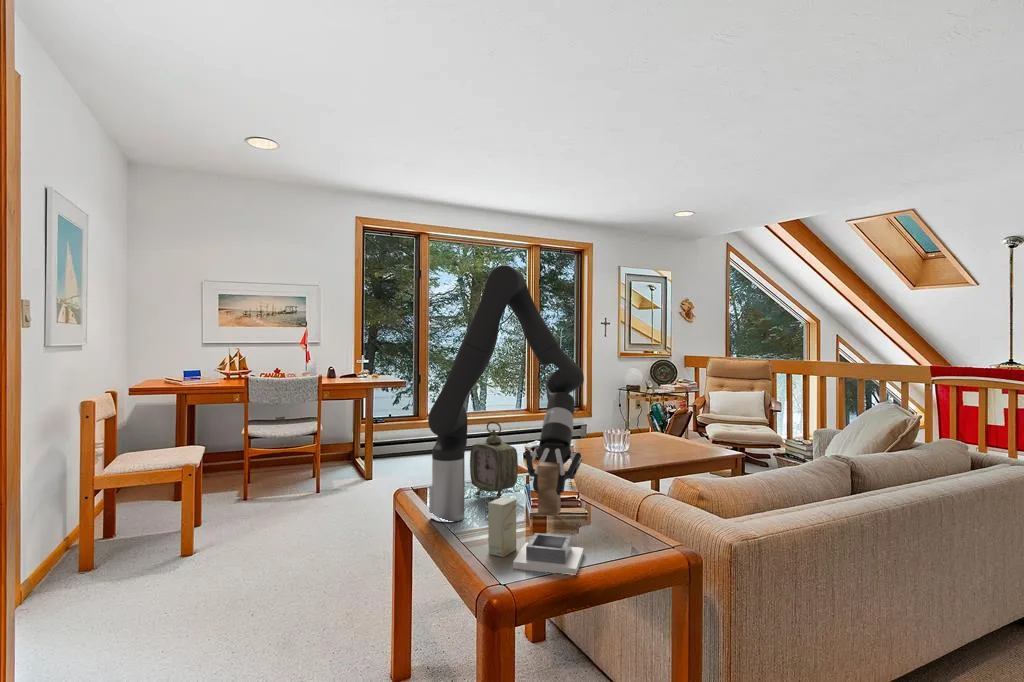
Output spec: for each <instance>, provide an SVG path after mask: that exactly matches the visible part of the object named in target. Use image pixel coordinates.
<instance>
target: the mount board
mask: <svg viewBox="0 0 1024 682" xmlns="http://www.w3.org/2000/svg"><path fill="white" fill-rule="evenodd" d="M572 538H573V537H572V536H569V535H561V534H559V535H557V534H550V533H540V532H539V533H538V532H534V533H533V535H532V537H531V539H530V540H529V542H528V541H526V542H525V543H524V545H523V546H522V547H521V549H520V550H519V552H518V554H517V555H516V557H515V558H514V559H513V561H512V569H514V570H522V571H531V572H539V573H540V572H541V573H547V572H550V573H549V574H556V573H569V574H571V573H572V574H576V573H577V574H578V572H577V571H579V569H580V566H581V563H582V561H583V557H584V555H585V553H584V552H585V551H584V547H577V546H572V545H573V544H572V543H573V540H572ZM551 572H552V573H551Z"/></svg>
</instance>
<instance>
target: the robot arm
mask: <svg viewBox="0 0 1024 682" xmlns="http://www.w3.org/2000/svg"><path fill="white" fill-rule="evenodd" d="M524 277H525V276H524V275H523V273H522V272H521V271H520V270H519V269H517V268H515V267H513V266H511V265H509V264H500V265H497V266H495V267H494V268H493V269H492V270H491V271H490V273H488V276H487V278H486V281H485V284H484V288H483V292H482V294H481V297H480V301H479V304H478V307H477V309H476V311H475V313H474V315H473V317H472V320H471V322H470V324H469V325H468V328H467V330H466V333H465V334H464V335H465V336H464V337H463V338H462V342H461V344H460V346H459V348H458V351H457V353H456V356H455V359H454V361H453V363H452V366H451V368H450V370H449V372H448V375H447V378H446V381H445V383H444V385H443V387H442V389H441V391H440V393H439V394H438V397H437V398H436V400H435V401H434V404H433V405H432V407H431V408H430V411H429V414H428V418H427V422H428V424H427V425H428V428H429V429H430V431H431V432H432V433H433V434H434V435H436V436H437V438H436V442H435V444H434V446H433V447H432V451H431V453H432V455H431V458H432V459H431V462H432V463H431V464H432V465H431V470H432V471H431V473H432V477H431V478H432V479H431V480H432V481H431V484H430V485H429V490H428V491H429V495H428V496H429V497H428V498H429V499H428V500H429V510H428V511H429V512H430V513H433V514H434V515H435V516H437V517H439V518H442V519H445V520H448V521H457V522H459V521H462V520H464V519H465V512H466V511H465V510H466V509H465V502H466V501H465V495H466V494H465V493H466V492H465V487H466V486H465V453H466V451H465V450H466V448H467V444H468V413H467V410H466V408H465V406H464V404H465V401H466V399H467V397H468V395H469V393H470V392H471V390H472V389H473V388H474V387H475V385H476V383H477V382H478V381H479V379H480V378H481V377H482V376H483V374H484V373H485V370H487V367H488V366H489V363H490V361H491V359H492V357H493V354H494V351H495V349H496V347H497V342H498V336H499V329H500V324H501V320H502V317H503V315H504V313H505V310H506V308H507V306H509V308H510V309H511V310H512V311H513V313H514V314H515V317H516V318H517V320H518V322H519V324H520V326H521V329H522V332H523V334H524V337H525V340H526V342H527V344H528V346H529V348H530V349H531V351H532V352H533V354H534V356H535V358H536V359H537V361H538V362H539V364H540V365H541V366H545V367H546V366H549V365H551V364H552V365H554V366H555V367H556V368H557V369H556V370H555V371H554V372H552V373H551V374H550V375H549V376H548V377H547V379H546V381H545V390H546V391H545V392H546V397H547V398H546V399H547V405H546V411H545V414H544V419H543V422H542V423H543V424H542V427H541V433H540V438H539V439H540V440H539V445H538V447H537V448H536V450H532V451H530V450H529V449H526V450H525V451H524V454H525V461H526V468H527V472H528V476H529V477H533V481H532V489H533V491H534V492H535V494H538V465H539V464H540V463H541V462H557V463H560V469H559V473H560V475H559V476H558V483H557V488H556V492H557V494H558V495H562V493H564V492H565V488H566V487H565V485H566V481H567V480H569V479H570V480H573V479H574V478H575V476H576V474H577V473H578V470H579V468H580V466H581V463H582V461H583V458H582V453H581V452H576V453H574V452H572V450H571V446H572V440H573V439H572V438H573V433H574V416H575V415H574V414H575V405H576V404H575V403H576V402H575V398H574V397H573V396H572V395H571V393H572V392H574V391H576V390H577V389H579V388H580V387H582V385H584V380H585V377H584V372H583V370H582V369H581V367H580V366H579V365H578V364H577V363H576V362H575V361H574V360H573V359H572V358H571V357H570V356H569V355H568V354H567V353H566V352H565V351H564V350H563V349H562V347H561V346H560V345H559V343H558V341H557V339H556V337H555V336H554V334H553V333H552V331H551V330H550V328H549V327H548V325H547V323H546V321H545V320H544V318H543V316H542V315H541V314H540V311H539V310H538V308H537V306H536V304H535V302H534V300H533V298H532V295H531V293H530V291H529V288H528V285H527V283H526V280H525V278H524ZM536 457H537V458H538V462H537V465H536V468H534V464H533V462H534V461H536ZM570 459H571V462H570V465H569V467H568V469H567V470H566V469H565V467H564V465H565V464H566V463H567V462H568V461H569V460H570Z"/></svg>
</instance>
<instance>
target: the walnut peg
mask: <svg viewBox="0 0 1024 682" xmlns="http://www.w3.org/2000/svg"><path fill="white" fill-rule="evenodd" d="M537 466H538V493H537V515H538V516H539V515H541V516H552V517H558V515H559V513H561V509H562V508H561V507H562V506H561V502H562V501H561V500H562V499H561V495H562V494H561V495H558V494H557V492H556V488H557V483H558V476H559V475H560V473H559V469H560V463H557V462H541V463H540V464H539V465H538V464H537Z"/></svg>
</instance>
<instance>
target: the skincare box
mask: <svg viewBox="0 0 1024 682" xmlns="http://www.w3.org/2000/svg"><path fill="white" fill-rule="evenodd" d="M487 504H488V516H487V519H488V529H487V531H488V536H487V537H488V554H489V555H493V556H497V557H500V558H504V557H506V556H508V555H509V554H511V553H512V552H514V551H516V550H517V499H516V498H510V497H504V496H501V497H500V498H498V497H497V498H496V499H493V500H491V501H489V502H488V503H487Z"/></svg>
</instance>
